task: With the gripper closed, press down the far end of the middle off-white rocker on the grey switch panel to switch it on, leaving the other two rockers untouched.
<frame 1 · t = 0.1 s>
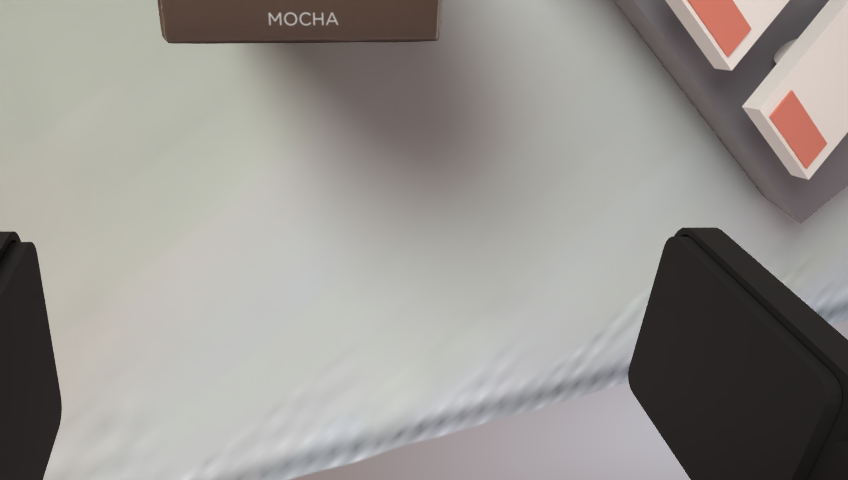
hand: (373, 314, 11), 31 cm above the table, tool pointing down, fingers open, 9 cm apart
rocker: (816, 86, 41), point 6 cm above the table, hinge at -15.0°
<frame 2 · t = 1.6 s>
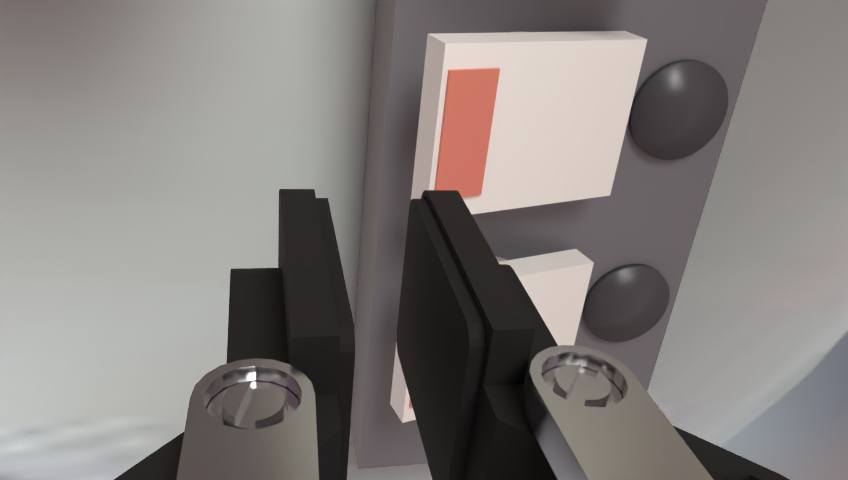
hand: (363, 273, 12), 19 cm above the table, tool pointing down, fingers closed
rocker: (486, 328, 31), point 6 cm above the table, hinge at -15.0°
rocker middle: (522, 119, 26), point 6 cm above the table, hinge at -15.0°
grey switch panel: (535, 75, 32), on the table
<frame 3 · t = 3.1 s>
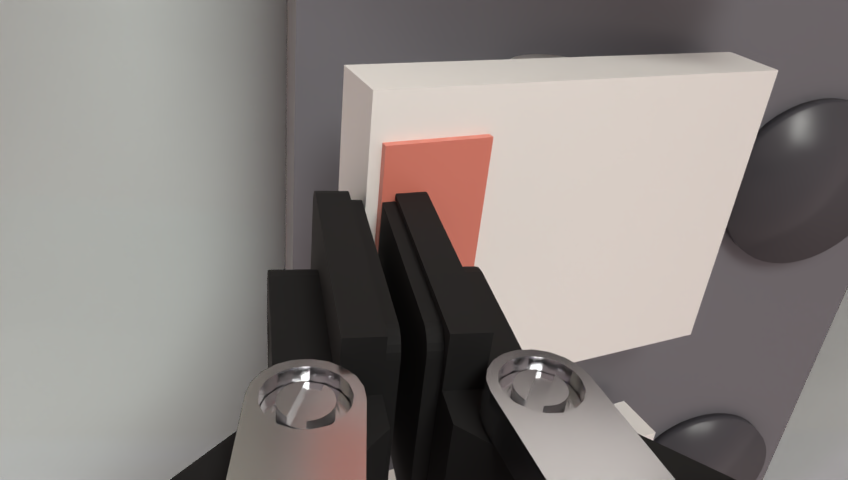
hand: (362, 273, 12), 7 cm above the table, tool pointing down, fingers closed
rocker middle: (538, 215, 14), point 6 cm above the table, hinge at -13.8°, touching gripper
grey switch panel: (557, 115, 20), on the table
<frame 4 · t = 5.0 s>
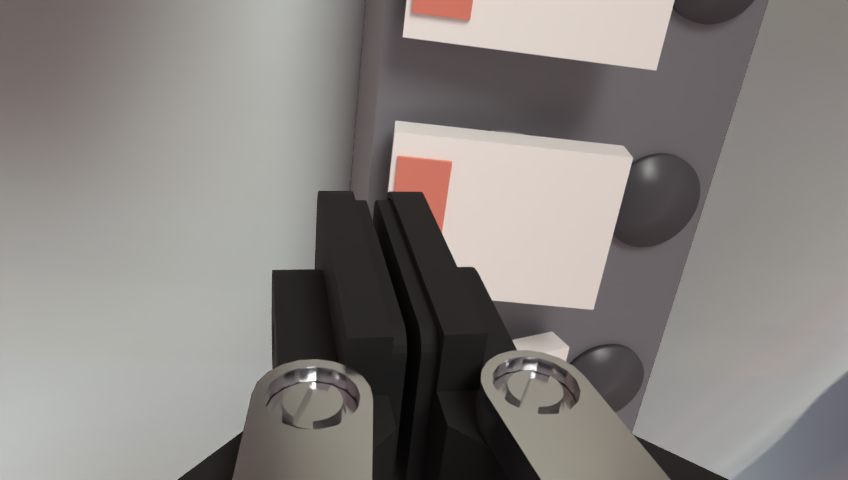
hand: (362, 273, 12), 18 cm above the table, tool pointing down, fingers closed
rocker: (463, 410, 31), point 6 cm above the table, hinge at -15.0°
rocker middle: (497, 214, 27), point 6 cm above the table, hinge at 11.5°
grey switch panel: (513, 159, 32), on the table
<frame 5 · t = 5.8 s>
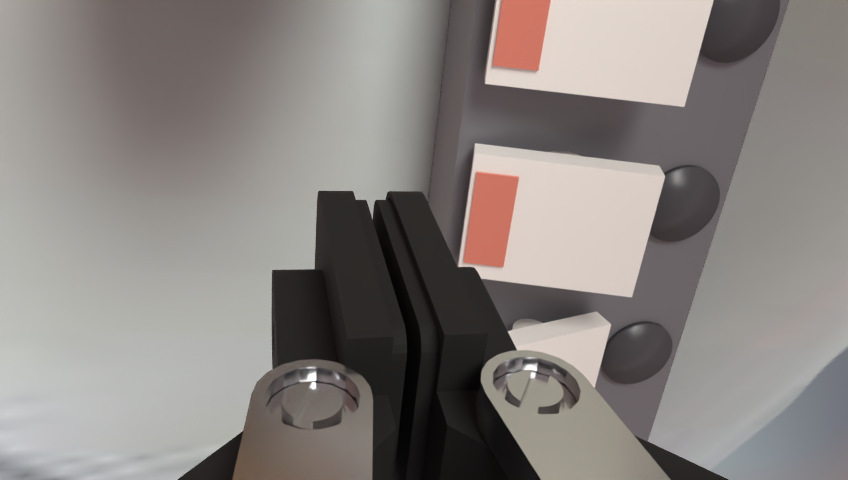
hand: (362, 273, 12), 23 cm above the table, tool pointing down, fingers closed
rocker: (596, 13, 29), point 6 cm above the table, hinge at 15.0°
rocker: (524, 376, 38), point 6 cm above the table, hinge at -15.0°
rocker middle: (554, 218, 33), point 6 cm above the table, hinge at 15.9°
grey switch panel: (563, 169, 39), on the table
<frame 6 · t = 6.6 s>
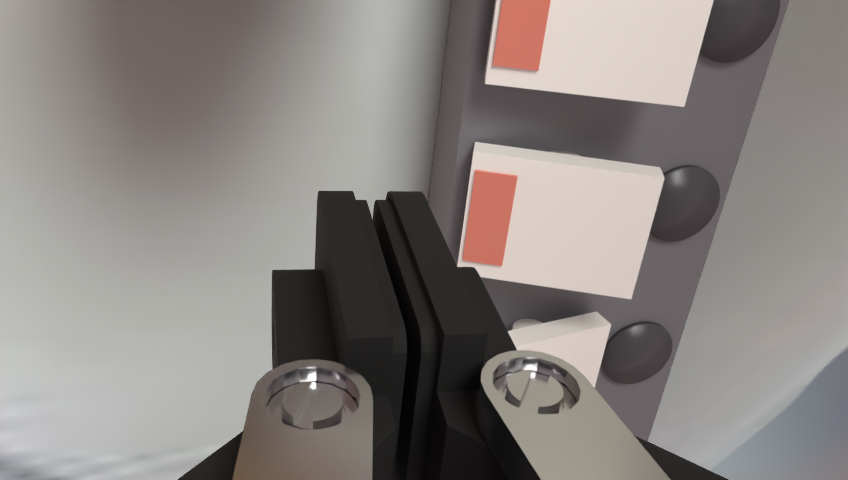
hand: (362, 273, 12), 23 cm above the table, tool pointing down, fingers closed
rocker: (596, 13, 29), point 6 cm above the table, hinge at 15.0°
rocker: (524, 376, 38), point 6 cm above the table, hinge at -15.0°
rocker middle: (554, 218, 33), point 6 cm above the table, hinge at 18.5°
grey switch panel: (563, 169, 39), on the table
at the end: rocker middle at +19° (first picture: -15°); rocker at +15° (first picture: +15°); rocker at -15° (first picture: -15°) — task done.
